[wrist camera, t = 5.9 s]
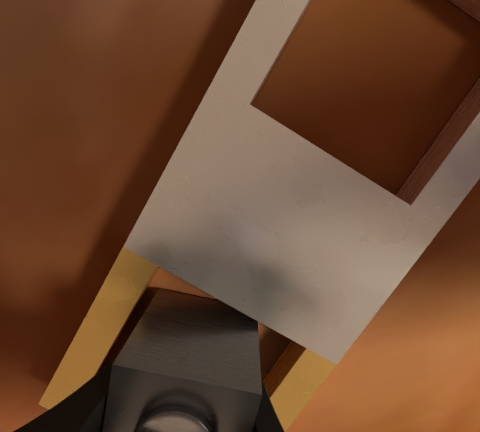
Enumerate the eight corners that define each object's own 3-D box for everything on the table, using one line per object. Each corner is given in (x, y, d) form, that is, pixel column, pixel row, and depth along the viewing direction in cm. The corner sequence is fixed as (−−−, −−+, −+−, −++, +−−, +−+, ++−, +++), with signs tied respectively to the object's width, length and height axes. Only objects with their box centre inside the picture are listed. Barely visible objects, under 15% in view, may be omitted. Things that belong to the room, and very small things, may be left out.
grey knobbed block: (256, 309, 14) (263, 411, 9) (235, 391, 15) (229, 530, 10) (158, 288, 14) (102, 379, 9) (144, 373, 15) (85, 503, 9)
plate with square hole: (564, 25, 12) (610, 7, 10) (234, 467, 16) (233, 499, 15) (340, -140, 11) (356, -187, 9) (58, 379, 15) (38, 404, 14)
